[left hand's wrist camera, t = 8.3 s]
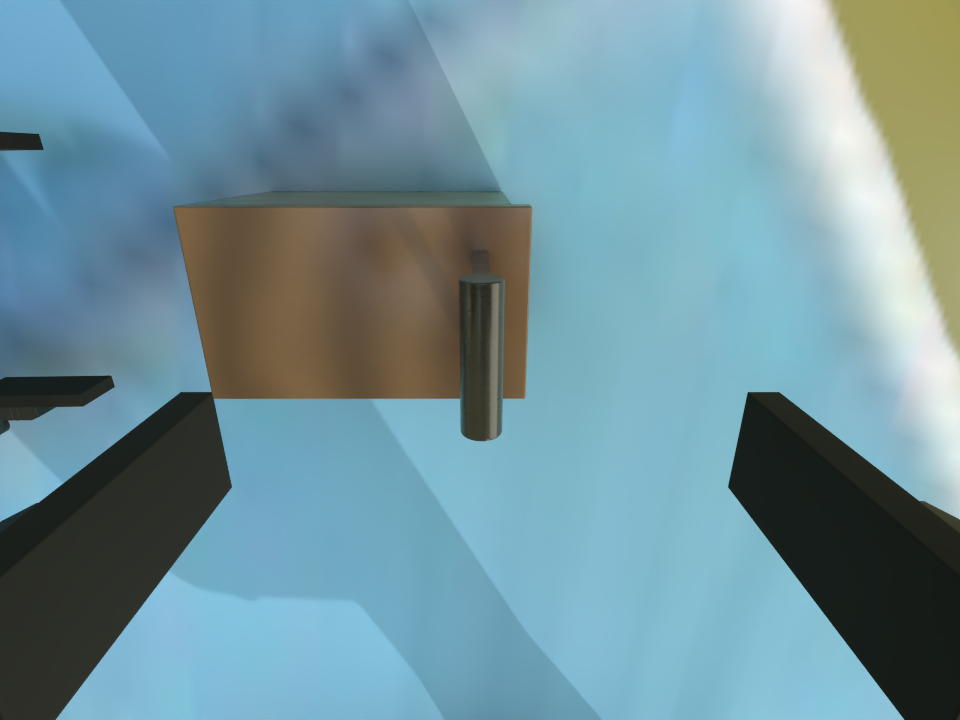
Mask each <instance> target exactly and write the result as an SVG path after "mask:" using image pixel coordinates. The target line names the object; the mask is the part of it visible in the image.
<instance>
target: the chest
mask: <svg viewBox="0 0 960 720" xmlns="http://www.w3.org/2000/svg"><path fill="white" fill-rule="evenodd" d="M188 205H511V203H510V202H509V200H508V199H507V198H506V196H505V195H504V193H503V192H265V193H259V194H252V195H246V196H239V197H233V198H226V199H219V200H213V201H206V202H200V203H193V204H188Z"/></svg>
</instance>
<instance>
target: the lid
mask: <svg viewBox="0 0 960 720" xmlns="http://www.w3.org/2000/svg"><path fill="white" fill-rule="evenodd" d="M174 213H175V218H176V222H177V227H178V232H179V237H180V242H181V246H182V251H183V256H184V261H185V266H186V270H187V275H188V280H189V285H190V290H191V294H192V299H193V304H194V309H195V314H196V318H197V323H198V328H199V333H200V338H201V342H202V347H203V352H204V357H205V362H206V366H207V371H208V376H209V381H210V386H211V390H212V394H213V398H214V399H460V413H461V433H462V435H463V436H464V437H466V438H468V439H471V440H475V441H488V440H492V439H495V438H497V437H498V436H499V435H500V434H501V432H502V402H503V398H525V395H526V367H527V339H528V311H529V283H530V255H531V227H532V207H531V206H530V205H180V206H175V207H174Z"/></svg>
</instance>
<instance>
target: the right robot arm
mask: <svg viewBox="0 0 960 720" xmlns="http://www.w3.org/2000/svg"><path fill="white" fill-rule="evenodd" d="M1 150H43V146H42V143H41V140H40V136H39V134H27V133H10V132H0V151H1ZM112 388H114V383H113V380H112V377H111V376H59V377H5V378H3V379H1V380H0V435H1V434H2V433H4V432H6V431H8V430H9V428H10V424H9V422H8V420H33V419H35V418H38V417H40V416H41V415H43V414H45V413H46V412H48V411H50V410H52V409H53V408H55V407H75V406H85V405H86V404H88V403H90V402H91V401H93V400H94V399H96V398H98V397H99V396H101V395H102V394H104V393H106V392H107V391H109V390H110V389H112Z"/></svg>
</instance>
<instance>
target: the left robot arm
mask: <svg viewBox="0 0 960 720" xmlns="http://www.w3.org/2000/svg"><path fill="white" fill-rule="evenodd" d="M231 487H232V485H231V480H230V476H229V471H228V466H227V461H226V456H225V452H224V447H223V442H222V437H221V432H220V428H219V423H218V418H217V413H216V408H215V404H214V399H213V394H212V392H181V393H179V394H178V395H177V396H175V397H174V398H173V399H172V400H170V401H169V402H168V403H166V404H165V405H164V406H163V407H161V408H160V409H159V410H157V411H156V412H155V413H154V414H152V415H151V416H150V417H148V418H147V419H146V420H145V421H143V422H142V423H141V424H139V425H138V426H137V427H136V428H134V429H133V430H132V431H130V432H129V433H128V434H127V435H125V436H124V437H123V438H121V439H120V440H119V441H118V442H116V443H115V444H114V445H112V446H111V447H110V448H109V449H107V450H106V451H105V452H103V453H102V454H101V455H100V456H98V457H97V458H96V459H94V460H93V461H92V462H91V463H89V464H88V465H87V466H85V467H84V468H83V469H82V470H80V471H79V472H78V473H76V474H75V475H74V476H73V477H71V478H70V479H69V480H67V481H66V482H65V483H64V484H62V485H61V486H60V487H58V488H57V489H56V490H55V491H53V492H52V493H51V494H49V495H48V496H47V497H46V498H44V499H43V500H42V501H40V502H39V503H36V504H34V505H32V506H30V507H28V508H26V509H24V510H22V511H20V512H18V513H16V514H14V515H13V516H11V517H9V518H7V519H5V520H3V521H1V522H0V720H56V718H57V717H58V716H59V714H60V713H61V712H62V710H63V709H64V708H65V707H66V705H67V704H68V703H69V701H70V700H71V699H72V697H73V696H74V695H75V693H76V692H77V691H78V689H79V688H80V687H81V685H82V684H83V683H84V681H85V680H86V679H87V677H88V676H89V675H90V674H91V672H92V671H93V670H94V668H95V667H96V666H97V664H98V663H99V662H100V660H101V659H102V658H103V656H104V655H105V654H106V652H107V651H108V650H109V648H110V647H111V646H112V644H113V643H114V642H115V641H116V639H117V638H118V637H119V635H120V634H121V633H122V631H123V630H124V629H125V627H126V626H127V625H128V623H129V622H130V621H131V619H132V618H133V617H134V615H135V614H136V613H137V612H138V610H139V609H140V608H141V606H142V605H143V604H144V602H145V601H146V600H147V598H148V597H149V596H150V594H151V593H152V592H153V590H154V589H155V588H156V586H157V585H158V584H159V582H160V581H161V580H162V579H163V577H164V576H165V575H166V573H167V572H168V571H169V569H170V568H171V567H172V565H173V564H174V563H175V561H176V560H177V559H178V557H179V556H180V555H181V553H182V552H183V551H184V550H185V548H186V547H187V546H188V544H189V543H190V542H191V540H192V539H193V538H194V536H195V535H196V534H197V532H198V531H199V530H200V528H201V527H202V526H203V524H204V523H205V522H206V520H207V519H208V518H209V517H210V515H211V514H212V513H213V511H214V510H215V509H216V507H217V506H218V505H219V503H220V502H221V501H222V499H223V498H224V497H225V495H226V494H227V493H228V491H229V490H230V489H231ZM728 487H729V489H730V490H731V491H732V493H733V494H734V495H735V497H736V498H737V499H738V501H739V502H740V503H741V505H742V506H743V507H744V509H745V510H746V511H747V513H748V514H749V515H750V517H751V518H752V519H753V520H754V522H755V523H756V524H757V526H758V527H759V528H760V530H761V531H762V532H763V534H764V535H765V536H766V538H767V539H768V540H769V542H770V543H771V544H772V546H773V547H774V548H775V550H776V551H777V552H778V553H779V555H780V556H781V557H782V559H783V560H784V561H785V563H786V564H787V565H788V567H789V568H790V569H791V571H792V572H793V573H794V575H795V576H796V577H797V579H798V580H799V581H800V582H801V584H802V585H803V586H804V588H805V589H806V590H807V592H808V593H809V594H810V596H811V597H812V598H813V600H814V601H815V602H816V604H817V605H818V606H819V608H820V609H821V610H822V612H823V613H824V614H825V615H826V617H827V618H828V619H829V621H830V622H831V623H832V625H833V626H834V627H835V629H836V630H837V631H838V633H839V634H840V635H841V637H842V638H843V639H844V641H845V642H846V643H847V644H848V646H849V647H850V648H851V650H852V651H853V652H854V654H855V655H856V656H857V658H858V659H859V660H860V662H861V663H862V664H863V666H864V667H865V668H866V670H867V671H868V672H869V674H870V675H871V676H872V677H873V679H874V680H875V681H876V683H877V684H878V685H879V687H880V688H881V689H882V691H883V692H884V693H885V695H886V696H887V697H888V699H889V700H890V701H891V703H892V704H893V705H894V707H895V708H896V709H897V710H898V712H899V713H900V714H901V716H902V717H903V718H904V720H960V520H959V519H958V518H956V517H954V516H952V515H950V514H948V513H946V512H944V511H942V510H940V509H938V508H936V507H934V506H932V505H930V504H928V503H927V502H925V501H918V500H917V499H916V498H914V497H913V496H912V495H911V494H909V493H908V492H907V491H905V490H904V489H903V488H902V487H900V486H899V485H898V484H896V483H895V482H894V481H893V480H891V479H890V478H889V477H887V476H886V475H885V474H884V473H882V472H881V471H880V470H878V469H877V468H876V467H875V466H873V465H872V464H871V463H869V462H868V461H867V460H866V459H864V458H863V457H862V456H860V455H859V454H858V453H857V452H855V451H854V450H853V449H851V448H850V447H849V446H848V445H846V444H845V443H844V442H842V441H841V440H840V439H839V438H837V437H836V436H835V435H833V434H832V433H831V432H830V431H828V430H827V429H826V428H824V427H823V426H822V425H821V424H819V423H818V422H817V421H815V420H814V419H813V418H812V417H810V416H809V415H808V414H806V413H805V412H804V411H803V410H801V409H800V408H799V407H797V406H796V405H795V404H794V403H792V402H791V401H790V400H788V399H787V398H786V397H785V396H783V395H782V394H781V393H779V392H748V394H747V399H746V404H745V408H744V413H743V418H742V423H741V428H740V432H739V437H738V442H737V447H736V452H735V456H734V461H733V466H732V471H731V476H730V480H729V485H728Z"/></svg>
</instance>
